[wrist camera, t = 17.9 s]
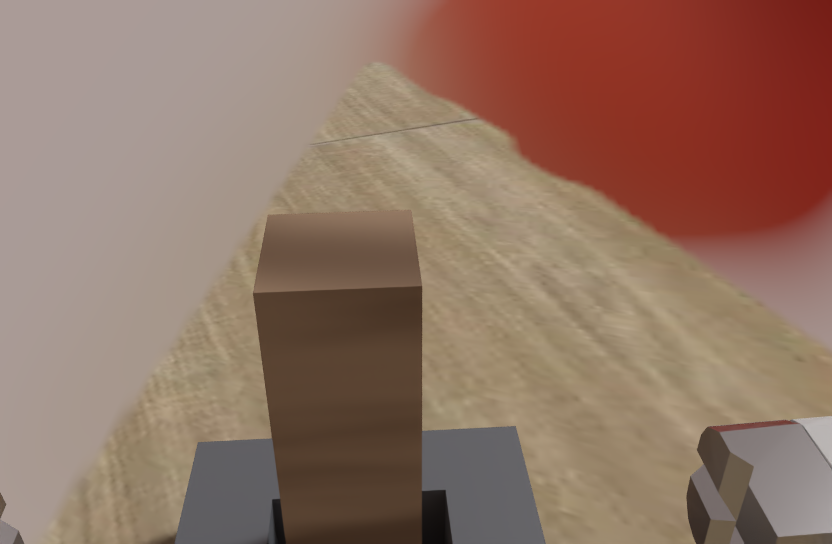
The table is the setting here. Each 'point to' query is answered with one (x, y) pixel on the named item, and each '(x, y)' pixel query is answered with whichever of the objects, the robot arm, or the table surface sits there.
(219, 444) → the grey socket base
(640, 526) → the table surface
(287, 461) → the brown rectangular bar
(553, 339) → the table surface
